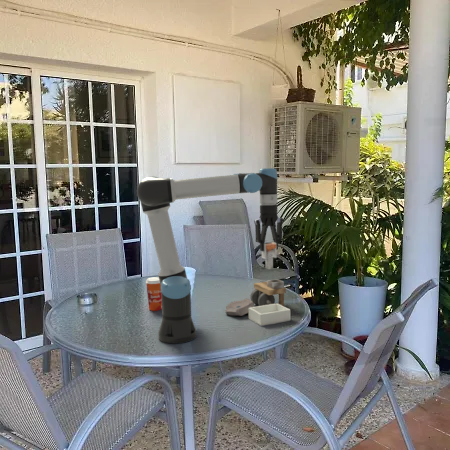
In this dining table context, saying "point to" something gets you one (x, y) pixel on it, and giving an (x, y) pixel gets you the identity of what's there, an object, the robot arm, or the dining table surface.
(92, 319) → the dining table surface
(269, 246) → the pin
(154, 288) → the coffee cup
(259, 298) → the trolley
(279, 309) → the tray
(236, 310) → the stone
